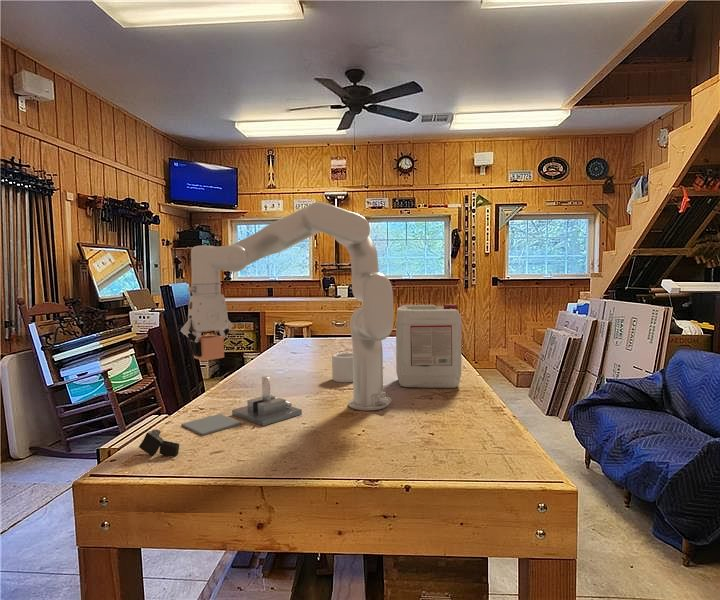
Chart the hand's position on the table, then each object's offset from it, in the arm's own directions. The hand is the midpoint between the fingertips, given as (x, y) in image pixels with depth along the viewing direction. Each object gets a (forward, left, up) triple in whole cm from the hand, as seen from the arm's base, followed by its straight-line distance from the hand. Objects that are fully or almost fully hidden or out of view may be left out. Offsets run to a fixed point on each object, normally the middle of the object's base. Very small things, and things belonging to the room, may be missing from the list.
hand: (208, 353), depth 130 cm
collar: (0, 0, -1) cm, 1 cm away
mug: (+10, -64, -21) cm, 68 cm away
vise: (-4, -16, -20) cm, 26 cm away
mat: (0, 0, -20) cm, 20 cm away
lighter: (-10, +19, -21) cm, 30 cm away
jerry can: (-19, -79, -21) cm, 84 cm away
